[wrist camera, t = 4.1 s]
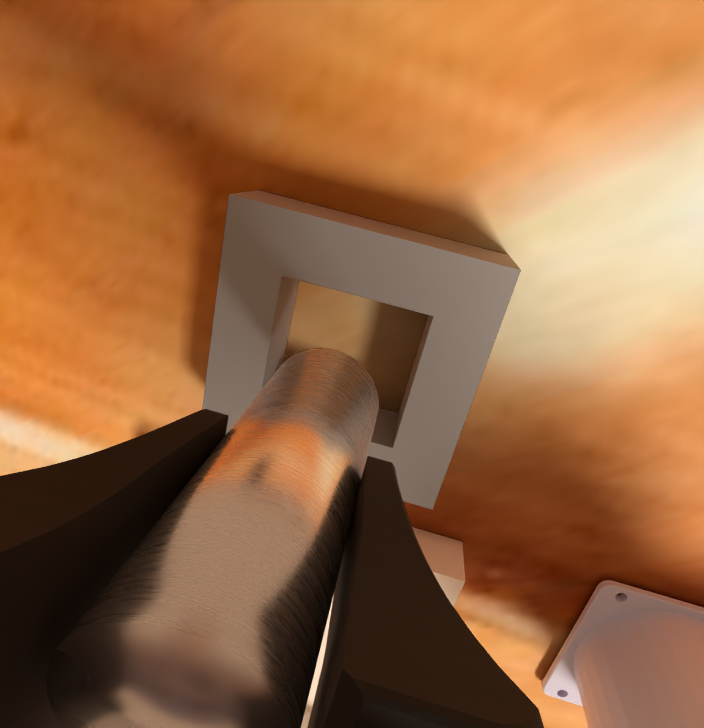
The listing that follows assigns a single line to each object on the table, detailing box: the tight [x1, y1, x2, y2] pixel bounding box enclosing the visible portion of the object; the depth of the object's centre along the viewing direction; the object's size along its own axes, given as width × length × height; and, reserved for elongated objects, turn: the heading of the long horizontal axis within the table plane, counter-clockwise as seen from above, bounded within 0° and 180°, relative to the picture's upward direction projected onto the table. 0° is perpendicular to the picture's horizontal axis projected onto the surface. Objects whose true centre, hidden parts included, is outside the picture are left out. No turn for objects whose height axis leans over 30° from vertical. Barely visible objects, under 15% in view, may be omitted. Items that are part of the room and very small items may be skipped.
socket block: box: [202, 190, 521, 510], centre depth 20 cm, size 10×10×3 cm
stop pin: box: [46, 348, 379, 728], centre depth 11 cm, size 4×4×10 cm
